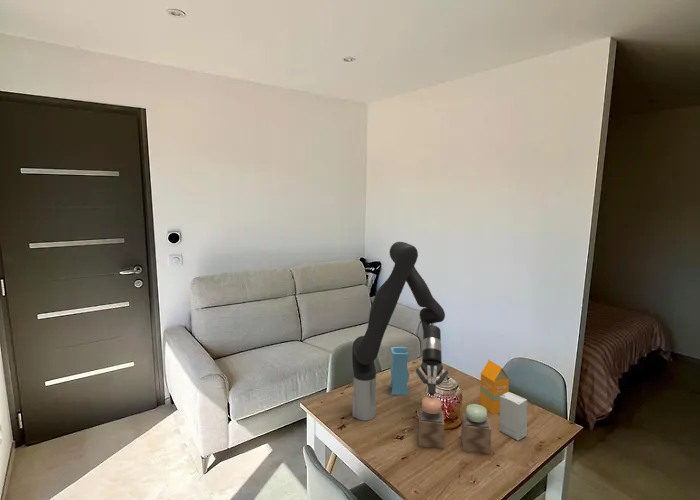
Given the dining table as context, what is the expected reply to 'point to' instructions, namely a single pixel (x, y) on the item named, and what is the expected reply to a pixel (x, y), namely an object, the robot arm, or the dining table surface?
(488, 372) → the orange juice
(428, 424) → the pillar
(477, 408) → the sage button
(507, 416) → the skincare box
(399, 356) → the vase
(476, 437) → the pillar
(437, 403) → the terracotta button
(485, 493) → the dining table surface
